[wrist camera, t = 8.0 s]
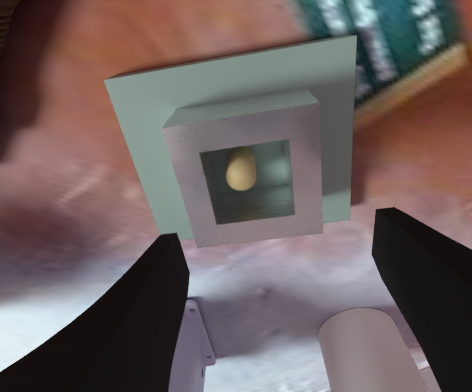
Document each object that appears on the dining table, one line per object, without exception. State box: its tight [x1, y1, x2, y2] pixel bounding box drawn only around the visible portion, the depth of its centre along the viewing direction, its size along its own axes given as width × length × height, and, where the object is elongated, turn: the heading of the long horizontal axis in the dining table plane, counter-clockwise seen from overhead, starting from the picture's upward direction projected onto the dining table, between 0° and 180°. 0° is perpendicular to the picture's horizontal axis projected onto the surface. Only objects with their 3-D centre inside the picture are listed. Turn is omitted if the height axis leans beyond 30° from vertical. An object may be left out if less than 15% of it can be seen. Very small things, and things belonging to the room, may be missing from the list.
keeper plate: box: [104, 34, 357, 240], centre depth 17 cm, size 11×13×4 cm
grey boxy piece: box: [161, 87, 323, 248], centre depth 16 cm, size 7×7×4 cm
